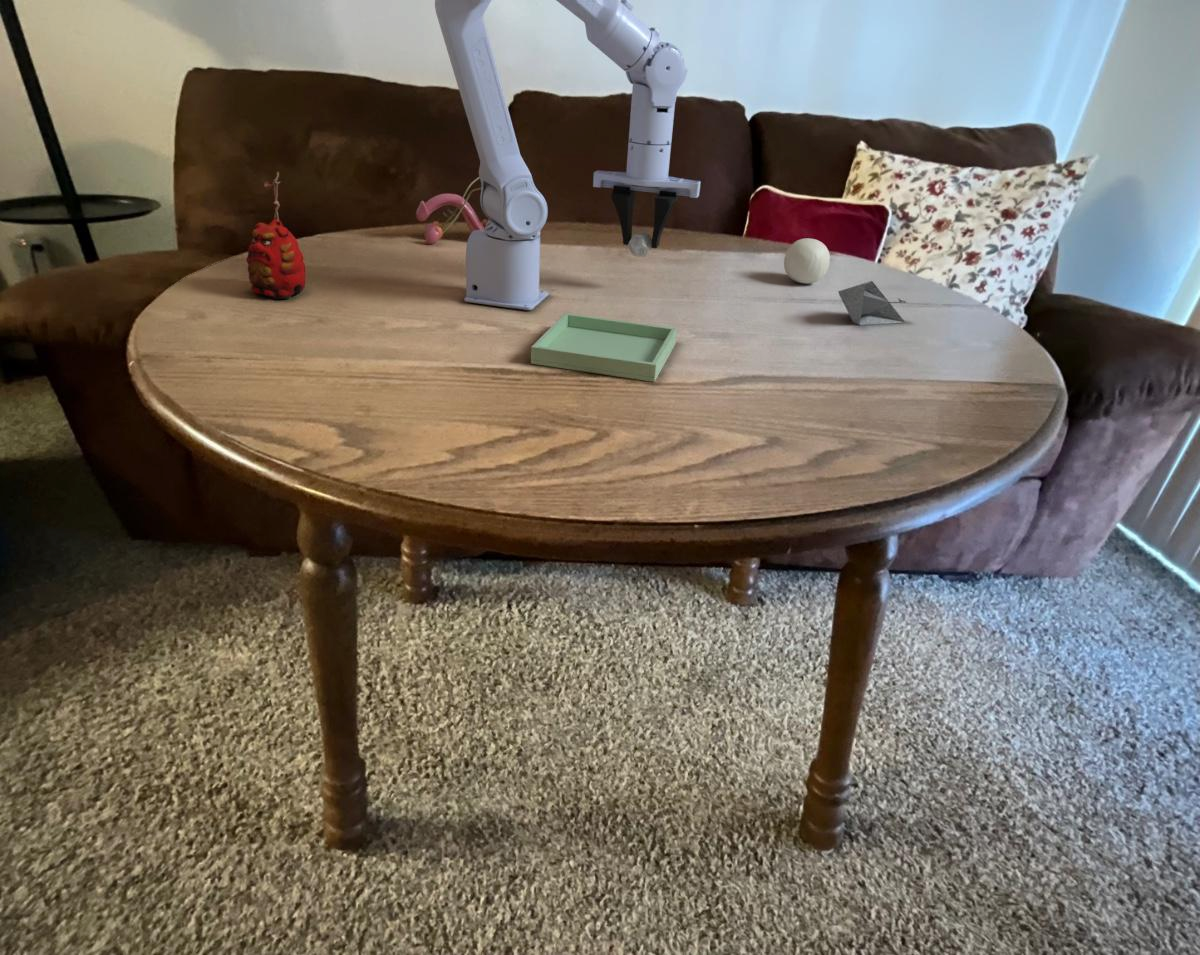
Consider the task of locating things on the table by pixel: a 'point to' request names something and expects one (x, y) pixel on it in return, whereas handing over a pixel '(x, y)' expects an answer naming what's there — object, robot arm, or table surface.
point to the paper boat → (869, 305)
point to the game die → (640, 244)
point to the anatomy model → (447, 199)
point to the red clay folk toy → (275, 257)
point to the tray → (605, 347)
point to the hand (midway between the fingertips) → (641, 245)
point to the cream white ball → (806, 260)
